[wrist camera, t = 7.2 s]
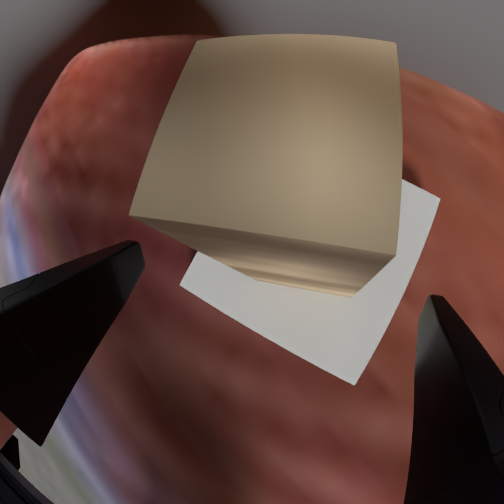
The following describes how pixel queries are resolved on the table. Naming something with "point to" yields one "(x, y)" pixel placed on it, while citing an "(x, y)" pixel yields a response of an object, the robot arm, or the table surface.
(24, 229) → the table surface
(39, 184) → the table surface
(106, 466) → the table surface
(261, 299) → the tile base
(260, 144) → the oak block
